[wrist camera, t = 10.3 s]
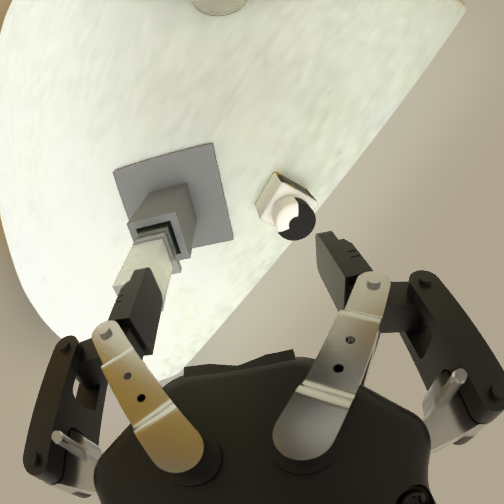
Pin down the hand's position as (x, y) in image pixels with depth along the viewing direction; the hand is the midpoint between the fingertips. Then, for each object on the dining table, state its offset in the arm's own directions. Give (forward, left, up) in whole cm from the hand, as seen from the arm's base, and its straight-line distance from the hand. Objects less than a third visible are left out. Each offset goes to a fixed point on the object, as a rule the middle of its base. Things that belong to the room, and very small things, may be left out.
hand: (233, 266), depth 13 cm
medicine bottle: (+11, +8, -36) cm, 39 cm away
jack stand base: (+8, -11, -36) cm, 39 cm away
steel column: (+8, -11, -28) cm, 31 cm away
